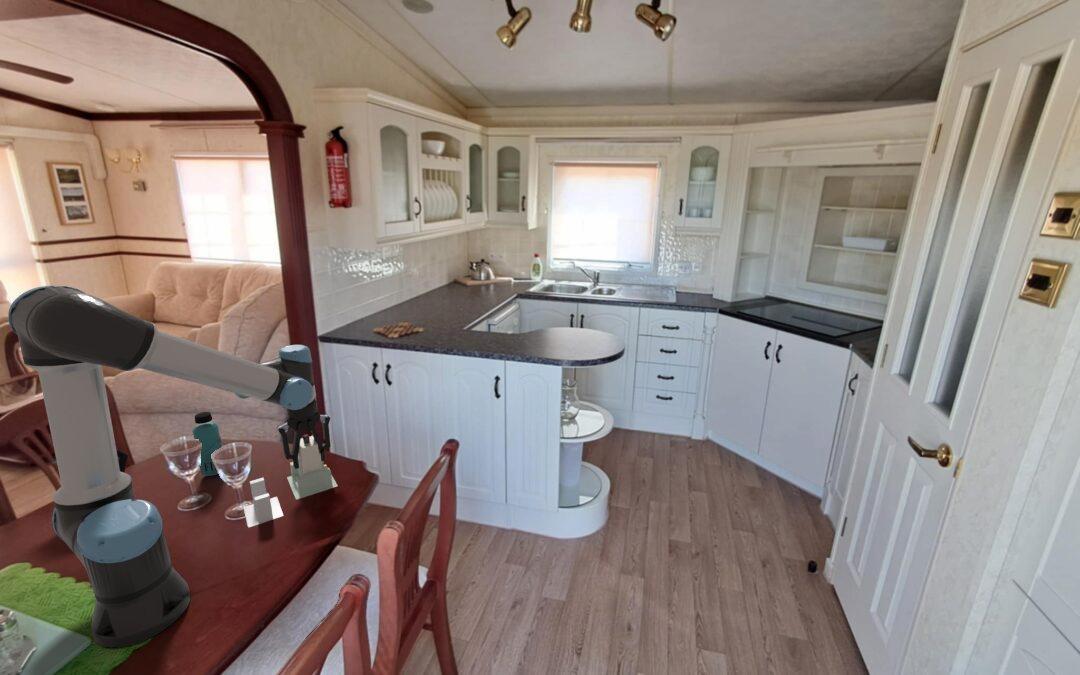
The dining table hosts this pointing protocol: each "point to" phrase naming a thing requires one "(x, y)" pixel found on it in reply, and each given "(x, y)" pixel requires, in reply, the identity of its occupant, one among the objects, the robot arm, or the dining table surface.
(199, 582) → the dining table surface
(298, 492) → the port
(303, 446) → the white tall block
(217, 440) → the beverage bottle
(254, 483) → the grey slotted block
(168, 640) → the dining table surface
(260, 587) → the dining table surface
